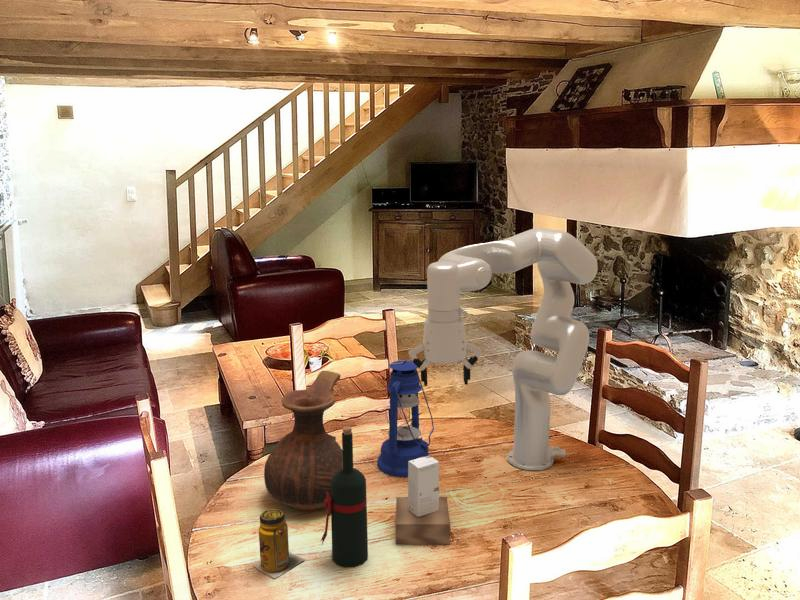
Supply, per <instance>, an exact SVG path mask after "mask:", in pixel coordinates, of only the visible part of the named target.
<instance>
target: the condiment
mask: <svg viewBox="0 0 800 600" xmlns="http://www.w3.org/2000/svg"><path fill="white" fill-rule="evenodd" d="M258 541H259V542H258V543H259V557H260V558H259V560H260V561H259V562H258V561H257V562H256V563H255V564H252V567H254V568H256V569H257V570H258V571H260V572H262V573H264V574H265V575H267V576H269V577H271V578H273V579H276V578H278V577H280V576H282V575H283V574H285V573H287V572H288V571H289V570H291V569H292V568H294V567H296V566H297V565H299V564H300V563H302V562H304V561H305V560H306V559H305V558H302V557H300V556H299V555H295V554H294V553H293V552H290V549H289V548H290V547H289V527H288V524H287V521H286V513H285V512H284V511H283V510H282V509H279V508H269V509H267V510H264V511H262V512H261V514H259V527H258Z"/></svg>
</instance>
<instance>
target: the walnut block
mask: <svg viewBox="0 0 800 600" xmlns="http://www.w3.org/2000/svg"><path fill="white" fill-rule="evenodd" d="M395 500H396V501H395V545H450V544H451V521H450V512H449V504H448V503H449V502H448V496H439V510H438V511H435V512H432V513H429V514H426V515H423V516H419V517H417V516H415V515H414V514H413V513H412V512H411V511H410V510H409V509H408V496H397V497H396V499H395Z"/></svg>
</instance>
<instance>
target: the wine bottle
mask: <svg viewBox="0 0 800 600" xmlns="http://www.w3.org/2000/svg"><path fill="white" fill-rule="evenodd" d="M341 429H342V432H341V449H342V455H343V468H342V469H340V470H339V471H337V472H336V473H335V474H334V475H333V477H332V479H331V497H330V493H328V492H327V491H326V499H325V500H324V503H325V507H324V508H325V510H326V517H325V519H326V520H325V526H324V527H325V528H324V532H323V535H322V538H321V539H320V542H321V545H323V544H324V541H325V540H326V538H327V535H328V531H329V529H328V528H329V519H330V518H331V519H330V520H331V521H330V522H331V558H332V559H331V560H332V561H333V562H334V564H335V565H337V566H339V567H342V568H355V567H359V566H362V565H364V564H365V563H366V562H367V561H368V559H369V551H368V550H369V547H368V545H369V544H368V543H369V542H368V540H369V539H368V510H367V506H368V503H367V499H368V498H367V479H366V477H365V475H364V474H363V473H362V472H361V471H360V470H359V469H357V468H355V467H354V452H353V451H354V445H353V443H354V442H353V438H354V437H353V432H352V430H353V429H352V427H351V426H350V425H348V426H342V428H341ZM329 517H330V518H329Z"/></svg>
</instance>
